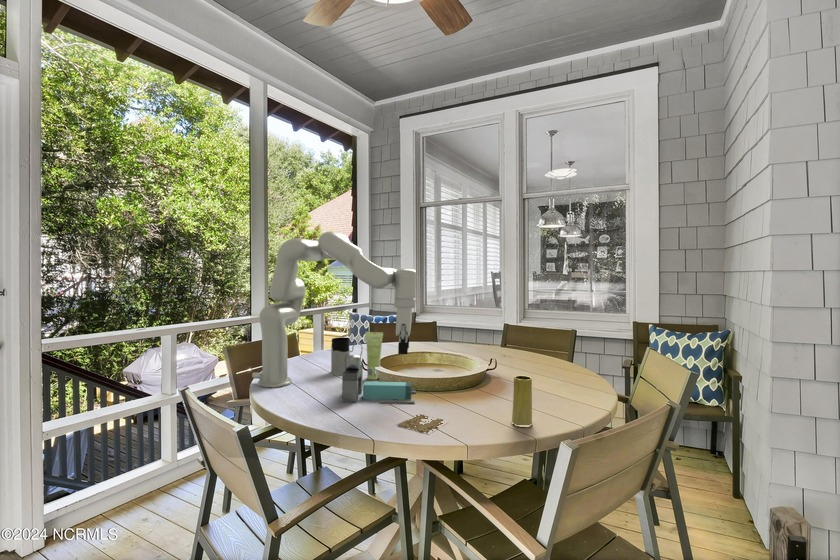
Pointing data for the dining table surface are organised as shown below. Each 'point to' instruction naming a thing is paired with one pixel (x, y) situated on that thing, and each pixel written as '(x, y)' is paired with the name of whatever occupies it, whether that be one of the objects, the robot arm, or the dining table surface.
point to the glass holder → (340, 354)
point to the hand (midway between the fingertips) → (403, 351)
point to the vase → (522, 400)
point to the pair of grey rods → (397, 400)
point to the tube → (373, 352)
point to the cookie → (420, 427)
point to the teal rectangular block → (387, 390)
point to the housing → (352, 378)
